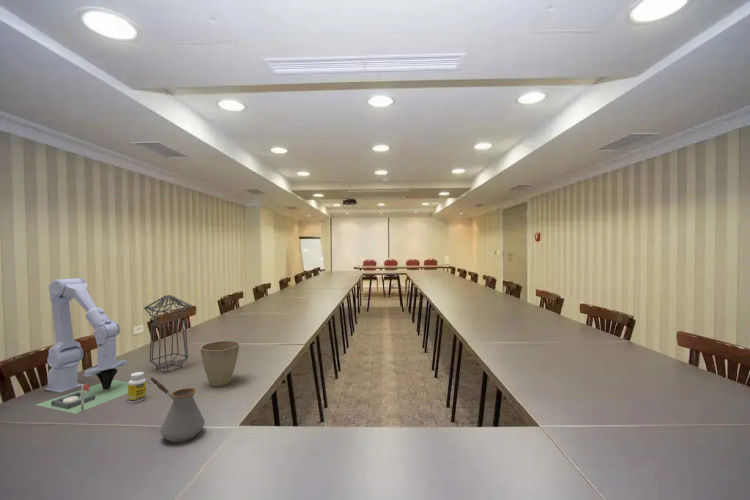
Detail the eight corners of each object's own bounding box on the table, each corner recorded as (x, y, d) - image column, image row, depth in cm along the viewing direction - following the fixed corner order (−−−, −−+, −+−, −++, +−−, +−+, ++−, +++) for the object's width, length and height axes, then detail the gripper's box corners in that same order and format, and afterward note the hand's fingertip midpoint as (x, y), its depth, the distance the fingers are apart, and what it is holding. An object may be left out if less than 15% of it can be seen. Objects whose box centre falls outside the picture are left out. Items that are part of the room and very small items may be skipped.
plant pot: (191, 387, 139) (192, 347, 139) (220, 375, 153) (221, 339, 153) (219, 392, 134) (219, 351, 134) (246, 379, 147) (247, 342, 148)
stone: (60, 405, 121) (60, 399, 121) (72, 400, 125) (72, 395, 125) (67, 407, 120) (67, 401, 120) (80, 402, 124) (80, 396, 124)
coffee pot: (212, 430, 105) (213, 381, 105) (177, 450, 95) (178, 395, 95) (167, 416, 114) (168, 371, 114) (130, 432, 104) (131, 383, 104)
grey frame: (51, 405, 121) (51, 380, 121) (78, 396, 129) (78, 372, 130) (85, 412, 116) (85, 386, 116) (111, 402, 124) (111, 377, 124)
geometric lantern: (194, 367, 164) (193, 294, 163) (159, 378, 150) (158, 298, 150) (176, 361, 172) (176, 291, 171) (142, 371, 159) (141, 295, 158)
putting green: (35, 405, 122) (35, 404, 122) (111, 380, 147) (111, 379, 147) (75, 414, 115) (75, 413, 115) (147, 386, 140) (147, 385, 140)
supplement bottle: (136, 403, 124) (136, 376, 124) (124, 402, 125) (124, 375, 125) (149, 397, 129) (149, 371, 129) (137, 396, 130) (137, 370, 130)
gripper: (93, 360, 127) (93, 397, 126) (132, 350, 140) (132, 383, 140) (80, 358, 129) (80, 394, 129) (120, 348, 143) (119, 381, 142)
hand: (106, 388), depth 135 cm, fingers closed
